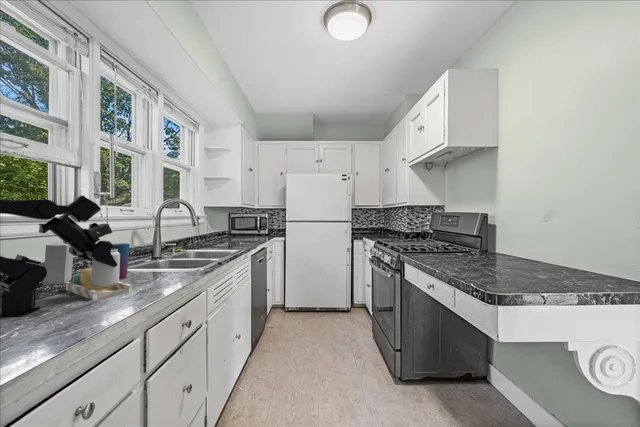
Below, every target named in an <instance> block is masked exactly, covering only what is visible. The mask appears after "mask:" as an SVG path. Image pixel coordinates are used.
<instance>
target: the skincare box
mask: <svg viewBox="0 0 640 427" xmlns="http://www.w3.org/2000/svg"><path fill="white" fill-rule="evenodd" d="M70 247H71V246H70V245H68V244H65V243H63V242H62V241H61V242H58V241H57V242H52V243H49V244H46V245H45V254H44V255H45V256H44V265H43V266H44V267H45V268H46V270H47V275H46V277H45V279H44V280H43V281H42V287H45V286H49V285H60V284H61V285H62V284H64V285H65V284H66V282H70V281H71V280H72V278H73V273H72V272H73V263H74V262H73V261H74V256H73V255H72V254H71V253H69V248H70Z"/></svg>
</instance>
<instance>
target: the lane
mask: <svg viewBox="0 0 640 427" xmlns="http://www.w3.org/2000/svg"><path fill="white" fill-rule="evenodd" d="M65 291H67V292H71V293H73V294H75V295H79V296H81V297H84V298H86V299H88V300H91V301H96V300H97V301H98V300H102V299H108V298H112V297H117V296H122V295H126V294H132V293H133V285H132V284H129V283H126V282H121V281H119V282H118V283H117V284H116V285H114V286H109V287H105V289H102V290H98V291H95V290H92V289H89V288H86V287H83V286H80V285H77V284H74V283H73V281H68V282H66V283H65Z"/></svg>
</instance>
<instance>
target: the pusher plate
mask: <svg viewBox="0 0 640 427" xmlns="http://www.w3.org/2000/svg"><path fill="white" fill-rule="evenodd" d="M80 274H81V273H80ZM80 274H72V282H73V283H74V284H77V285H80Z"/></svg>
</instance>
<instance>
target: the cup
mask: <svg viewBox="0 0 640 427" xmlns="http://www.w3.org/2000/svg"><path fill="white" fill-rule="evenodd" d="M112 244H113V245H114V246H113V247H112V249H118V252H119V253H120V270H119V281H120V280H125V279H127V278H128V269H129V268H128V267H129V256H130V248H131V243H128V242H126V243H121V242H119V243H112Z"/></svg>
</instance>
